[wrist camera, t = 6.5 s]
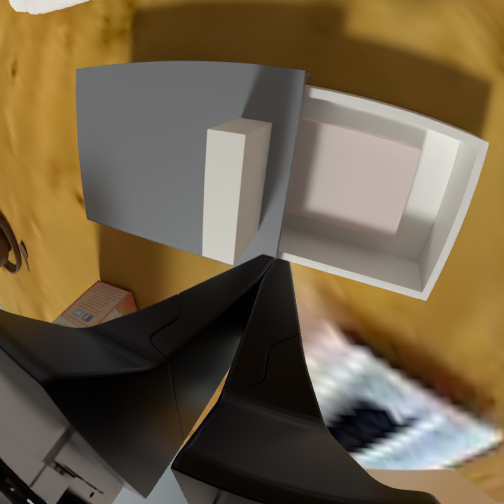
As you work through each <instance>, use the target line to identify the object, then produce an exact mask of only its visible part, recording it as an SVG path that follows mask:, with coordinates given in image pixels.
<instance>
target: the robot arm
mask: <svg viewBox="0 0 504 504" xmlns="http://www.w3.org/2000/svg"><path fill="white" fill-rule="evenodd" d="M230 366H231V367H230ZM229 368H230V370H229ZM228 370H229V373H228V376H227V378H226V381H225V385H224V387H223V389H222V392H221V394H220V396H219V399H218V401H217V402H216V404H215V405H214V407H213V408H212V409H211V411H210V412H209V413H208V415H207V416H206V417H205V419H204V420H203V421H202V423H201V424H200V425H199V427H198V428H197V429H196V431H195V432H194V433H193V435H192V436H191V437H190V439H189V440H188V441H187V443H186V444H185V445H184V446H183V448H182V449H181V450H180V452H179V453H178V455H177V456H176V458H175V460H174V461H173V463H172V466H171V470H172V472H173V474H174V476H175V478H176V480H177V482H178V484H179V486H180V488H181V490H182V492H183V494H184V496H185V498H186V500H187V501H188V503H189V504H440V503H439V501H438V500H437V499H436V498H435V496H433V495H432V494H430V493H427V492H422V491H412V490H401V489H396V488H391V487H389V486H386V485H384V484H382V483H380V482H378V481H377V480H375V479H374V478H372V477H371V476H370V475H369V474H368V473H367V472H366V471H365V470H364V469H363V468H362V467H361V466H360V465H359V464H358V463H357V462H356V461H355V460H354V459H353V458H352V457H351V456H350V455H349V454H348V453H347V452H346V450H345V449H344V448H343V447H342V446H341V445H340V444H339V443H338V442H337V441H336V440H335V439H334V438H333V437H332V435H331V434H330V433H329V431H328V429H327V427H326V425H325V423H324V420H323V417H322V414H321V411H320V408H319V405H318V402H317V398H316V395H315V392H314V389H313V386H312V382H311V379H310V376H309V372H308V369H307V365H306V361H305V356H304V351H303V345H302V338H301V332H300V325H299V319H298V312H297V305H296V299H295V292H294V286H293V280H292V273H291V267H290V262H289V261H286V260H283V259H279V258H277V259H275V257H272V256H269V255H265V254H261V255H259V256H257V257H255V258H253V259H251V260H248V261H246V262H244V263H242V264H240V265H238V266H236V267H234V268H231V269H229V270H227V271H225V272H223V273H221V274H219V275H217V276H215V277H212V278H210V279H208V280H206V281H204V282H202V283H200V284H197V285H195V286H193V287H191V288H189V289H187V290H185V291H183V292H180V293H179V295H178V294H176V295H174V296H172V297H170V298H167V299H165V300H163V301H161V302H158V303H156V304H154V305H151V306H149V307H146V308H143V309H141V310H138V311H135V312H132V313H130V314H127V315H124V316H121V317H118V318H115V319H112V320H109V321H106V322H103V323H100V324H97V325H94V326H90V327H83V328H75V327H68V326H63V325H58V324H54V323H49V322H45V321H41V320H36V319H32V318H28V317H24V316H20V315H16V314H13V313H9V312H6V311H4V310H1V309H0V504H30V503H28V502H27V499H29V500H31V501H32V502H33V503H34V504H112V503H113V501H114V500H115V498H116V497H117V495H118V494H119V492H120V491H121V489H122V487H125V488H127V489H128V490H130V491H132V492H134V493H136V494H137V495H139V496H141V497H143V498H145V499H146V498H147V496H148V495H149V494H150V492H151V491H152V489H153V488H154V487H155V485H156V483H157V482H158V480H159V479H160V478H161V476H162V474H163V473H164V471H165V470H166V468H167V467H168V465H169V464H170V462H171V461H172V459H173V458H174V456H175V455H176V453H177V452H178V450H179V449H180V447H181V445H182V444H183V442H184V440H185V439H186V438H187V436H188V434H189V433H190V431H191V430H192V428H193V426H194V425H195V423H196V422H197V420H198V419H199V417H200V415H201V414H202V412H203V411H204V409H205V407H206V406H207V404H208V402H209V401H210V399H211V398H212V396H213V394H214V393H215V391H216V389H217V388H218V386H219V385H220V383H221V381H222V380H223V378H224V376H225V375H226V373H227V371H228Z"/></svg>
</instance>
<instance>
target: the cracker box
mask: <svg viewBox="0 0 504 504" xmlns="http://www.w3.org/2000/svg"><path fill="white" fill-rule="evenodd" d="M135 311H138V310H137V307H136V304H135V300H134V297H133V294H132V292H130V291H127V290H124V289H121V288H118V287H116V286H113V285H110V284H107V283H105V282H102V281H99V280H98V281H97V282H96V283H95V284H93V285H92V286H91V287H90V288H89V289H88V290H87V291H85V292H84V293H83V294H82V295H81V296H80V297H79V298H78V299H77V300H75V301H74V302H73V303H72V304H71V305H70V306H69V307H68V308H67V309H66V310H65V311H64V312H63V313H61V314H60V315H59V316H58V317H57V318H56V319H55V320H54V321H53V322H52V323H54V324H58V325H63V326H68V327H75V328H83V327H90V326H94V325H97V324H100V323H103V322H106V321H109V320H112V319H115V318H118V317H121V316H124V315H127V314H130V313H132V312H135Z"/></svg>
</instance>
